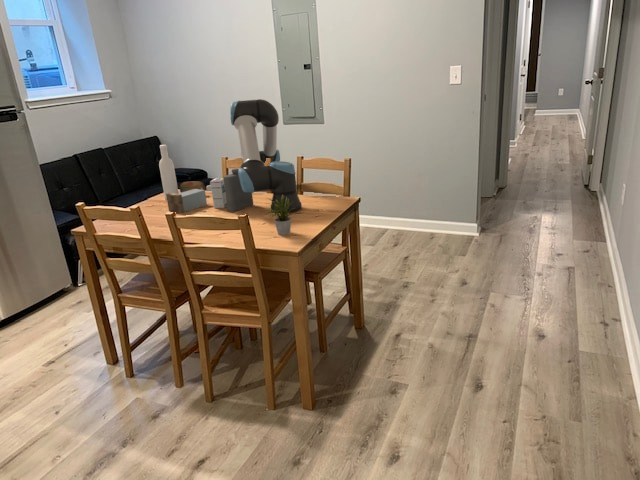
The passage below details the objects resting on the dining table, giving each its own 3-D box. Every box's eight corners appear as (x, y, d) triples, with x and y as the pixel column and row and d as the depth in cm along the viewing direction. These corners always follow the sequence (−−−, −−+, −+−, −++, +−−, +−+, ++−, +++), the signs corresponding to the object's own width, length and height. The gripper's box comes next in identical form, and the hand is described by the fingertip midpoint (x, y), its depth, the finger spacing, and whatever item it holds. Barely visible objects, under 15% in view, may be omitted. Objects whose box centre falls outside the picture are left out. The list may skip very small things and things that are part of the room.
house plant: (266, 228, 219) (262, 192, 213) (298, 225, 219) (295, 189, 214) (265, 239, 205) (261, 200, 200) (299, 236, 206) (296, 197, 200)
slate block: (206, 204, 266) (204, 190, 264) (184, 212, 255) (181, 196, 253) (197, 203, 271) (194, 188, 268) (174, 210, 260) (171, 195, 257)
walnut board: (184, 211, 255) (181, 194, 252) (181, 212, 254) (178, 195, 251) (172, 209, 261) (169, 192, 258) (168, 210, 259) (165, 193, 256)
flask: (248, 204, 261) (243, 165, 254) (255, 205, 257) (250, 166, 250) (224, 211, 251) (219, 171, 245) (231, 212, 247) (226, 172, 241)
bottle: (161, 199, 283) (152, 146, 273) (170, 196, 290) (161, 143, 280) (173, 200, 280) (164, 146, 270) (182, 196, 287) (173, 143, 277)
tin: (180, 196, 288) (178, 182, 285) (183, 195, 290) (180, 180, 288) (204, 196, 284) (202, 181, 281) (207, 195, 287) (204, 180, 284)
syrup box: (224, 208, 256) (220, 180, 252) (213, 208, 258) (209, 180, 253) (228, 205, 262) (224, 177, 257) (217, 205, 263) (214, 178, 258)
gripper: (247, 186, 286) (216, 196, 269) (231, 184, 294) (200, 194, 276) (245, 173, 284) (214, 182, 266) (229, 172, 291) (198, 181, 274)
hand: (207, 188), depth 271 cm, fingers closed
